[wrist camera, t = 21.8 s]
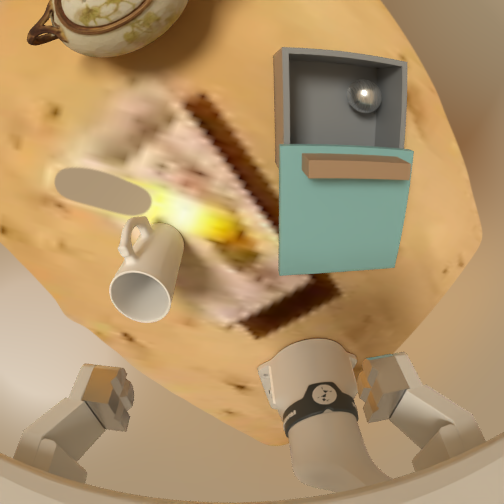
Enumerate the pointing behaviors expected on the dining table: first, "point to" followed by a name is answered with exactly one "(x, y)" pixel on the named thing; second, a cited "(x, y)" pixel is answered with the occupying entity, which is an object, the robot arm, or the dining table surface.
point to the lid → (341, 207)
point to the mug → (147, 270)
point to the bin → (336, 99)
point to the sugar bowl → (106, 24)
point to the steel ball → (364, 96)
